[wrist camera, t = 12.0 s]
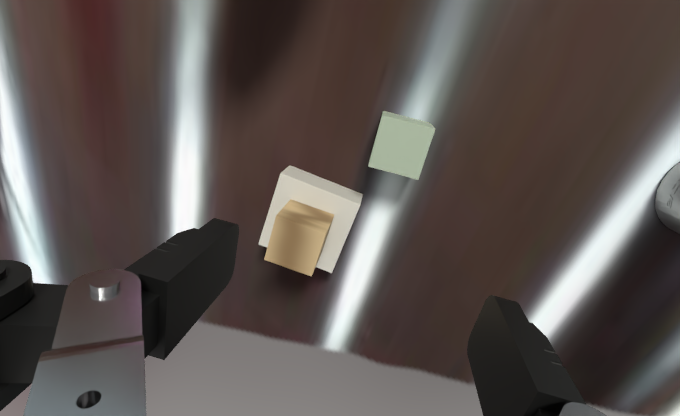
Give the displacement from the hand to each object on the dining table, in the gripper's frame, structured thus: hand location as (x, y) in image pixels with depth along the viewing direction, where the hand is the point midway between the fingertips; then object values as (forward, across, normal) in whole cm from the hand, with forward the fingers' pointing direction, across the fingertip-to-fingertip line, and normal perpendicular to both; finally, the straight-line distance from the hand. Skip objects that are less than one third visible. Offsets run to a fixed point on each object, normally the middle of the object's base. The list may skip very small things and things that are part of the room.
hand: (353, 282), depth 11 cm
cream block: (+29, +6, +10) cm, 31 cm away
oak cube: (+25, +6, +10) cm, 28 cm away
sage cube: (+29, -2, 0) cm, 29 cm away
